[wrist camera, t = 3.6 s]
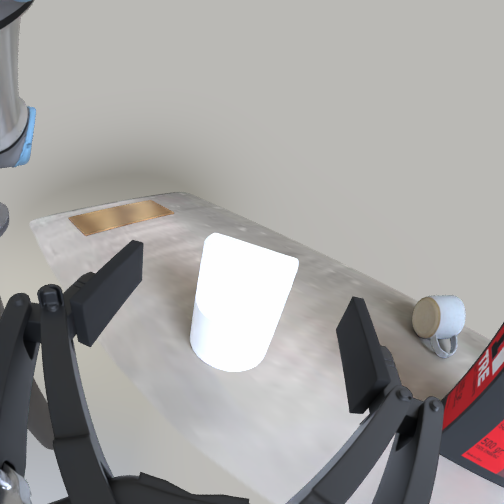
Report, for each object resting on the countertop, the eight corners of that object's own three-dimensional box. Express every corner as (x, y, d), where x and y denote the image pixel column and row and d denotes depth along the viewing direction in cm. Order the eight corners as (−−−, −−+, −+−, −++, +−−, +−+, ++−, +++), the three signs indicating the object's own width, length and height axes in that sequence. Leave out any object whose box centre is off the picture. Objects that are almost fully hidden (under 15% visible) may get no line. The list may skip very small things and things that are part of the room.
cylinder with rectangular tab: (176, 352, 28) (187, 255, 23) (206, 307, 36) (223, 222, 31) (256, 382, 27) (292, 291, 22) (272, 330, 35) (302, 248, 30)
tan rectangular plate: (85, 236, 44) (85, 234, 44) (68, 218, 48) (68, 217, 48) (173, 213, 61) (174, 212, 61) (150, 201, 65) (150, 199, 65)
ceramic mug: (403, 319, 44) (423, 284, 40) (430, 319, 45) (450, 287, 42) (431, 363, 34) (459, 326, 31) (458, 358, 36) (483, 324, 33)
